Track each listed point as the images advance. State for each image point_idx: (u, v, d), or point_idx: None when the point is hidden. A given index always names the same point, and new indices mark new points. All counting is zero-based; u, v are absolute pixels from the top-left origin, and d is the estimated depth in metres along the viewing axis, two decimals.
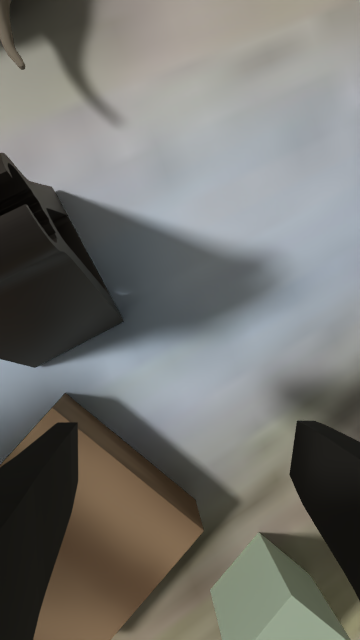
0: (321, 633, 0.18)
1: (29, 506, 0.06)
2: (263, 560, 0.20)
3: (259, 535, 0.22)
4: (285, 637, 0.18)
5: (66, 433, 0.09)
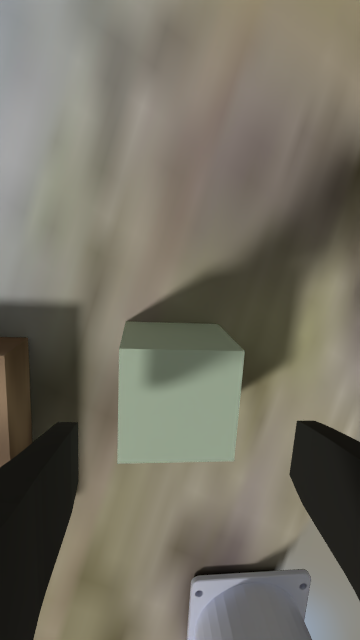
0: (191, 363, 0.13)
1: (29, 506, 0.06)
2: None
3: None
4: (152, 394, 0.13)
5: (66, 433, 0.09)
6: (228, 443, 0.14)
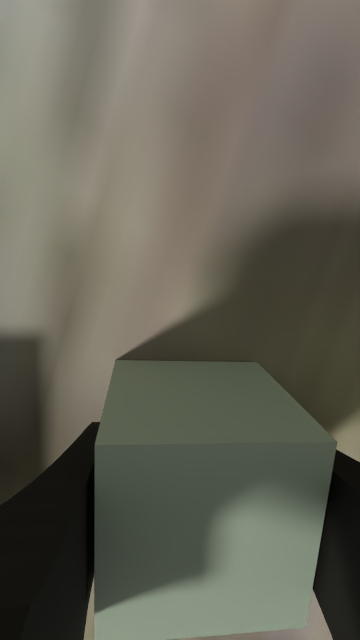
0: (235, 467, 0.07)
1: (84, 504, 0.06)
2: None
3: None
4: (159, 526, 0.07)
5: None
6: (297, 600, 0.08)
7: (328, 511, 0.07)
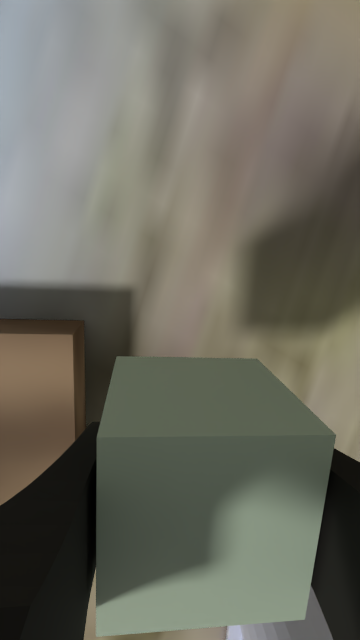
0: (235, 460, 0.07)
1: (84, 504, 0.06)
2: None
3: (116, 361, 0.11)
4: (161, 518, 0.07)
5: None
6: (296, 593, 0.08)
7: (328, 511, 0.07)
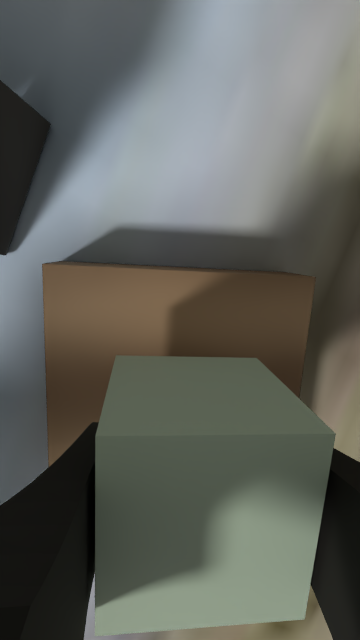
0: (235, 459, 0.07)
1: (84, 504, 0.06)
2: None
3: (115, 360, 0.11)
4: (160, 517, 0.07)
5: None
6: (295, 592, 0.08)
7: (328, 511, 0.07)
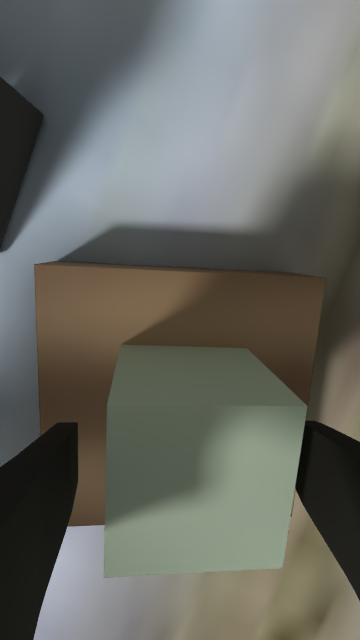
0: (223, 426, 0.08)
1: (29, 506, 0.06)
2: None
3: (120, 348, 0.12)
4: (159, 474, 0.08)
5: (66, 433, 0.09)
6: (274, 543, 0.09)
7: None
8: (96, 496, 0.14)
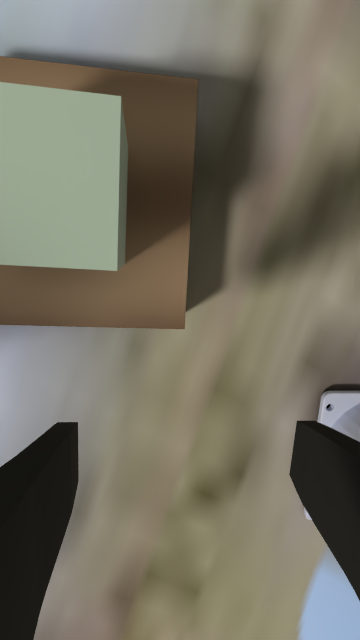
0: (44, 109, 0.09)
1: (29, 506, 0.06)
2: None
3: None
4: None
5: (66, 433, 0.09)
6: (106, 243, 0.10)
7: None
8: None
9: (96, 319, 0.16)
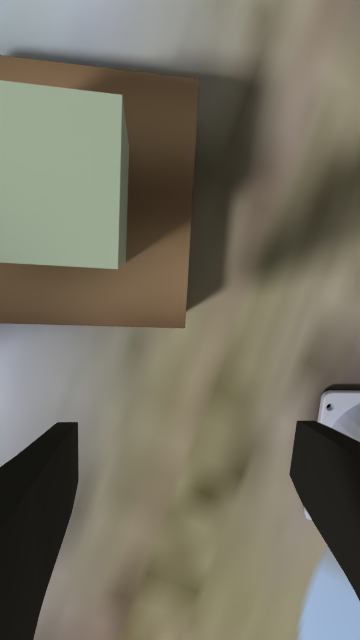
0: (45, 108, 0.09)
1: (29, 506, 0.06)
2: None
3: None
4: None
5: (66, 433, 0.09)
6: (107, 241, 0.10)
7: None
8: None
9: (97, 318, 0.16)
